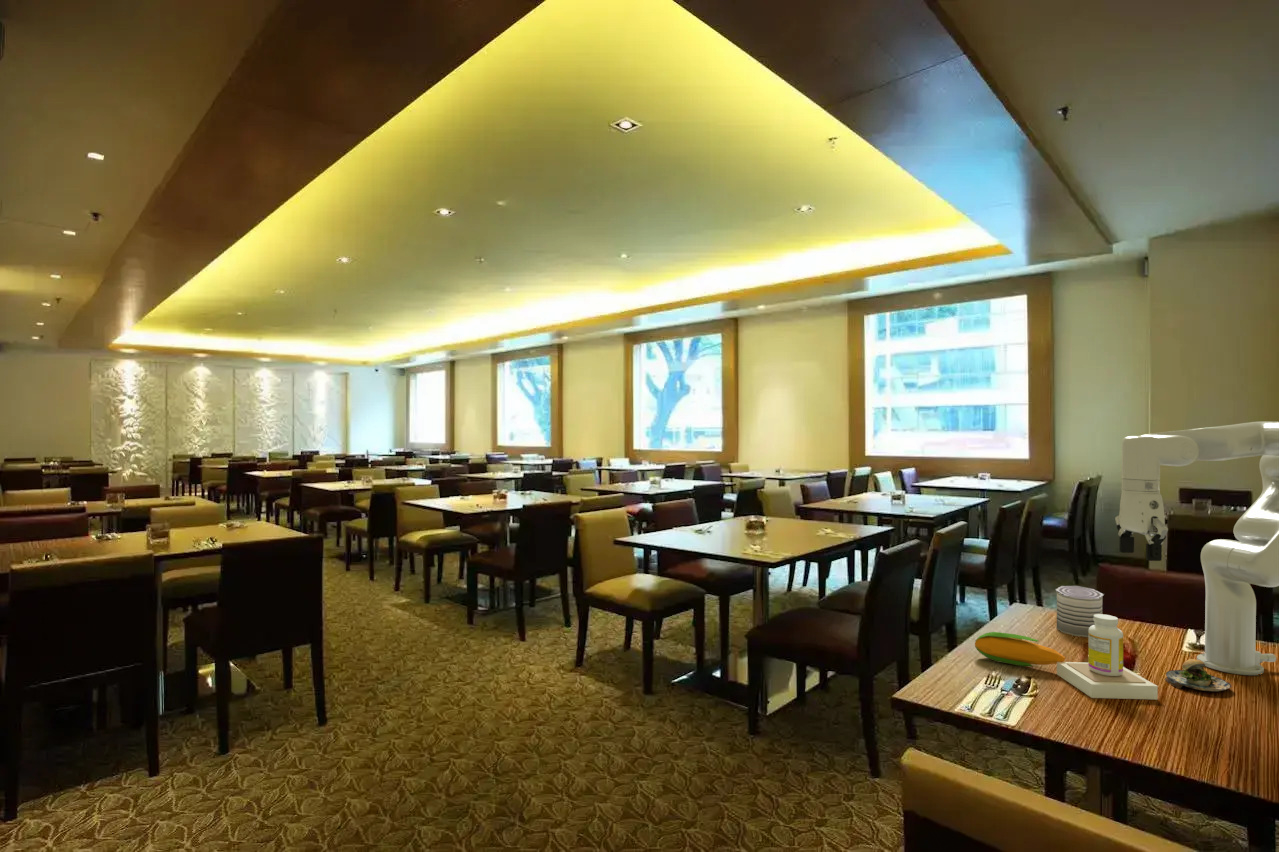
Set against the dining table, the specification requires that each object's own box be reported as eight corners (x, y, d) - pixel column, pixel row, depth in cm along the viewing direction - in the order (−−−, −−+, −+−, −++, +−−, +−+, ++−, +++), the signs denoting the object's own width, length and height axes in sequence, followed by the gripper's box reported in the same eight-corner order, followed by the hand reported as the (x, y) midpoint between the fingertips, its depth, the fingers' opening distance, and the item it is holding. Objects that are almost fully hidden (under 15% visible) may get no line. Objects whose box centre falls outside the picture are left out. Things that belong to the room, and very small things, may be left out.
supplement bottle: (1112, 667, 160) (1112, 613, 160) (1129, 678, 153) (1130, 621, 153) (1082, 666, 161) (1082, 612, 160) (1098, 676, 154) (1099, 620, 154)
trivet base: (1116, 675, 164) (1116, 662, 163) (1157, 699, 150) (1157, 684, 150) (1056, 674, 164) (1056, 660, 164) (1091, 697, 150) (1091, 683, 150)
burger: (1176, 692, 154) (1176, 659, 154) (1157, 674, 165) (1157, 643, 165) (1242, 700, 150) (1242, 666, 150) (1217, 681, 161) (1218, 649, 161)
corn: (977, 623, 179) (1066, 637, 168) (978, 651, 180) (1067, 667, 168) (972, 632, 173) (1064, 646, 162) (972, 661, 174) (1064, 678, 162)
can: (1106, 631, 198) (1106, 590, 198) (1098, 640, 190) (1098, 597, 190) (1061, 623, 206) (1061, 583, 206) (1051, 631, 198) (1052, 590, 197)
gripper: (1182, 490, 157) (1181, 564, 157) (1132, 483, 174) (1132, 549, 174) (1148, 490, 157) (1148, 563, 157) (1102, 483, 174) (1101, 549, 175)
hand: (1139, 556), depth 166 cm, fingers open, 9 cm apart
